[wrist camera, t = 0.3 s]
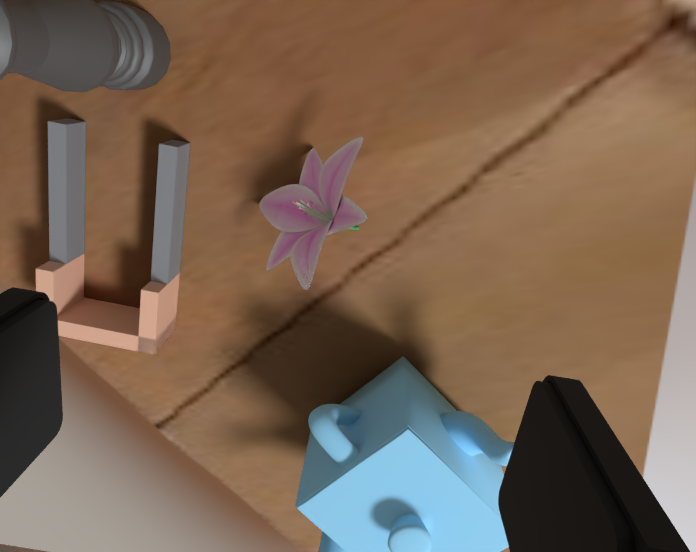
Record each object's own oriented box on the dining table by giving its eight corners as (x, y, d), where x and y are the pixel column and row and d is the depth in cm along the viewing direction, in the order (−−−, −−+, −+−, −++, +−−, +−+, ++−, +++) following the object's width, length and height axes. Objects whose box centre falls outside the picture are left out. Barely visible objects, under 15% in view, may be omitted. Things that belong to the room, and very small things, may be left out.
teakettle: (314, 341, 51) (288, 438, 38) (511, 352, 50) (559, 455, 37) (313, 496, 58) (291, 626, 44) (487, 508, 57) (520, 645, 43)
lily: (388, 124, 45) (329, 101, 36) (430, 258, 44) (378, 265, 36) (280, 178, 51) (207, 168, 42) (315, 296, 50) (247, 310, 42)
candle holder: (159, -1, 42) (-129, -99, 18) (179, 83, 44) (-56, 91, 20) (85, 13, 42) (-285, -66, 19) (108, 94, 44) (-199, 115, 21)
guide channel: (68, 118, 45) (32, 123, 40) (190, 142, 45) (168, 150, 41) (68, 308, 52) (37, 331, 47) (175, 329, 52) (154, 354, 47)
